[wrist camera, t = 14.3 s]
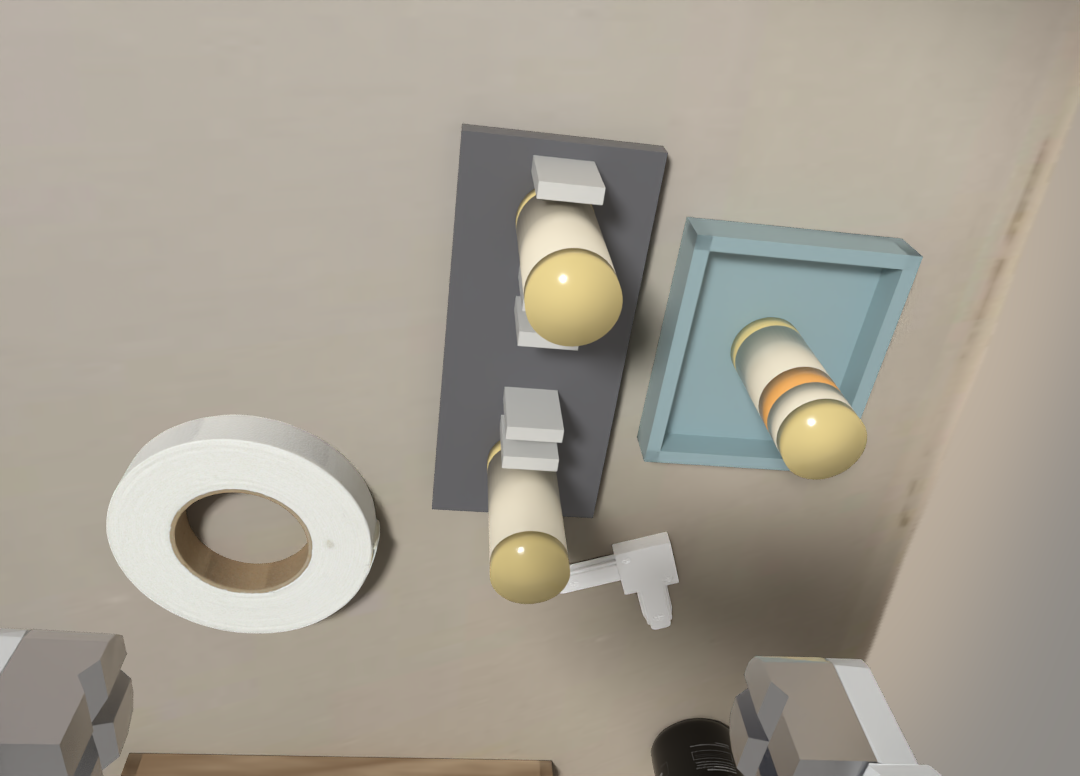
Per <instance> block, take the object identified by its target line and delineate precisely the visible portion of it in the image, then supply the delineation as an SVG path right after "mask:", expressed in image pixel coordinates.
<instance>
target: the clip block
mask: <svg viewBox="0 0 1080 776" xmlns="http://www.w3.org/2000/svg"><path fill="white" fill-rule="evenodd" d="M667 154H668V153H667V151H666V150H665V148H664V147H663V146H658V145H649V144H640V143H631V142H622V141H613V140H604V139H595V138H586V137H577V136H568V135H559V134H550V133H541V132H532V131H523V130H514V129H505V128H496V127H487V126H478V125H469V124H462V131H461V144H460V157H459V169H458V182H457V195H456V207H455V220H454V233H453V246H452V258H451V271H450V284H449V296H448V309H447V322H446V334H445V347H444V360H443V373H442V385H441V398H440V411H439V423H438V436H437V449H436V461H435V474H434V487H433V500H432V509H438V510H456V511H475V512H488V480H487V458H488V454H489V452H490V450H491V448H492V447H493V446H494V445H495V444H496V443H497V442H498V441H499V440H500V441H501V461H502V468H508V469H525V470H541V471H556V474H557V481H558V488H559V495H560V502H561V509H562V516H567V517H585V518H593V514H594V510H595V505H596V500H597V495H598V490H599V485H600V480H601V476H602V471H603V466H604V461H605V456H606V451H607V446H608V441H609V437H610V432H611V427H612V422H613V417H614V412H615V407H616V403H617V398H618V393H619V388H620V383H621V378H622V373H623V368H624V364H625V359H626V354H627V349H628V344H629V339H630V334H631V330H632V325H633V320H634V315H635V310H636V305H637V300H638V295H639V291H640V286H641V281H642V276H643V271H644V266H645V261H646V257H647V252H648V247H649V242H650V237H651V232H652V227H653V222H654V218H655V213H656V208H657V203H658V198H659V193H660V188H661V184H662V179H663V174H664V169H665V164H666V159H667ZM534 188H535V193H536V198H537V199H546V200H556V201H566V202H576V203H585V204H591V205H592V207H593V210H594V213H595V215H596V218H597V221H598V224H599V227H600V230H601V233H602V235H603V238H604V241H605V244H606V247H607V250H608V252H609V255H610V258H611V261H612V264H613V267H614V270H615V272H616V275H617V278H618V281H619V284H620V287H621V290H622V296H623V303H622V309H621V313H620V315H619V318H618V320H617V321H616V323H615V325H614V326H613V327H612V328H611V330H610V331H609V332H608V333H607V334H605V335H604V336H603V337H601V338H600V339H598V340H596V341H594V342H592V343H589V344H586V345H581V346H573V347H571V346H561V345H557V344H554V343H551V342H549V341H547V340H545V339H544V338H542V337H541V336H540V335H539V334H538V333H537V332H536V331H535V330H534V329H533V328H532V326H531V325H530V323H529V321H528V318H527V316H526V311H525V303H524V295H523V286H522V277H521V269H520V260H519V251H518V243H517V234H516V224H515V219H516V212H517V209H518V207H519V205H520V203H521V201H522V200H523V198H524V197H525V196H526V195H527V194H528V193H529V192H530V191H531V190H533V189H534Z"/></svg>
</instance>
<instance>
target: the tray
mask: <svg viewBox="0 0 1080 776" xmlns="http://www.w3.org/2000/svg"><path fill="white" fill-rule="evenodd" d="M922 258H923V256H921V255H920V254H919V253H918V252H917V251H916V250H915V249H913V248H912V247H911V246H910V245H909V244H908V243H906V242H905V241H904V240H903V239H900V238H890V237H880V236H870V235H861V234H851V233H841V232H831V231H821V230H811V229H801V228H791V227H781V226H771V225H761V224H752V223H742V222H732V221H722V220H712V219H702V218H692V217H687V218H686V223H685V227H684V231H683V236H682V240H681V245H680V249H679V254H678V258H677V262H676V267H675V271H674V276H673V280H672V285H671V289H670V293H669V298H668V302H667V307H666V311H665V316H664V320H663V324H662V329H661V333H660V338H659V342H658V347H657V351H656V355H655V360H654V364H653V369H652V373H651V378H650V382H649V386H648V391H647V395H646V400H645V404H644V409H643V413H642V417H641V422H640V426H639V431H638V435H637V438H638V442H639V445H640V449H641V452H642V455H643V459H644V461H646V462H661V463H677V464H693V465H709V466H725V467H740V468H756V469H772V470H788V471H790V470H789V468H788V467H787V466H786V464H785V462H784V460H783V458H782V456H781V455H780V453H779V451H778V449H777V447H776V445H775V443H774V441H773V439H772V438H771V436H770V434H769V432H768V430H767V428H766V426H765V424H764V422H763V420H762V419H761V417H760V415H759V413H758V411H757V409H756V407H755V405H754V403H753V402H752V400H751V398H750V396H749V394H748V392H747V390H746V388H745V386H744V385H743V383H742V381H741V379H740V377H739V375H738V373H737V371H736V369H735V368H734V366H733V363H732V361H731V355H730V352H731V346H732V343H733V341H734V339H735V337H736V336H737V334H738V333H739V332H740V331H741V330H742V329H743V328H744V327H745V326H746V325H748V324H749V323H751V322H753V321H755V320H758V319H761V318H766V317H776V318H781V319H784V320H786V321H788V322H790V323H791V324H792V325H793V326H794V327H795V328H796V329H797V331H798V332H799V333H800V335H801V336H802V338H803V339H804V341H805V342H806V343H807V345H808V346H809V348H810V349H811V350H812V352H813V353H814V355H815V356H816V358H817V359H818V360H819V362H820V363H821V365H822V366H823V367H824V369H825V370H826V372H827V373H828V375H829V376H830V377H831V379H832V380H833V382H834V383H835V384H836V386H837V387H838V389H839V390H840V391H841V393H842V394H843V396H844V397H845V399H846V400H847V401H848V403H849V404H850V406H851V407H852V408H853V410H854V411H855V413H856V414H857V416H858V417H859V418H860V419H861V416H862V413H863V411H864V408H865V406H866V403H867V401H868V398H869V395H870V393H871V390H872V388H873V385H874V382H875V380H876V377H877V375H878V372H879V369H880V367H881V364H882V362H883V359H884V356H885V354H886V351H887V349H888V346H889V343H890V341H891V338H892V336H893V333H894V330H895V328H896V325H897V323H898V320H899V317H900V315H901V312H902V310H903V307H904V305H905V302H906V299H907V297H908V294H909V292H910V289H911V286H912V284H913V281H914V279H915V276H916V273H917V271H918V268H919V266H920V263H921V260H922Z"/></svg>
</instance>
